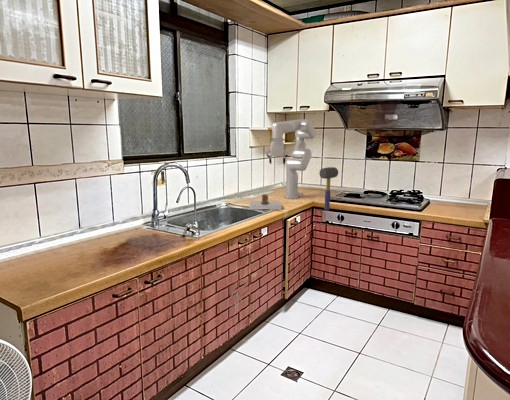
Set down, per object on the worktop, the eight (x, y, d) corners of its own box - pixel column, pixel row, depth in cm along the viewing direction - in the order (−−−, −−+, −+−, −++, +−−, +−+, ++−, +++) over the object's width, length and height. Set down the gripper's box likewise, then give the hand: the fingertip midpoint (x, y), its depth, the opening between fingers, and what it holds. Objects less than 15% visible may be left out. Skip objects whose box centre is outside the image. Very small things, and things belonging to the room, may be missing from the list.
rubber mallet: (324, 213, 240) (327, 168, 234) (316, 211, 246) (318, 167, 240) (336, 210, 248) (339, 167, 242) (328, 208, 254) (330, 166, 248)
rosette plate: (279, 205, 263) (279, 201, 262) (281, 209, 249) (281, 205, 248) (249, 205, 262) (249, 200, 261) (249, 209, 248) (249, 205, 247)
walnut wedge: (267, 206, 257) (267, 194, 256) (267, 207, 253) (268, 195, 252) (261, 206, 257) (262, 194, 255) (262, 207, 253) (262, 195, 252)
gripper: (288, 139, 267) (288, 163, 271) (265, 140, 266) (265, 163, 270) (289, 140, 259) (289, 164, 263) (266, 140, 259) (265, 164, 263)
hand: (277, 163), depth 267 cm, fingers open, 9 cm apart
